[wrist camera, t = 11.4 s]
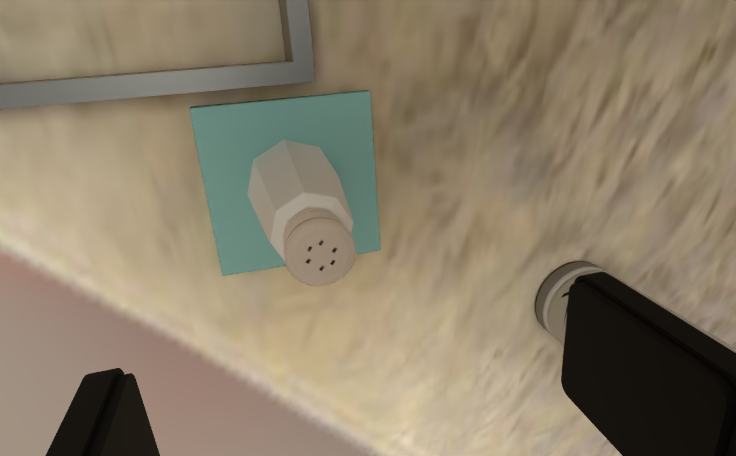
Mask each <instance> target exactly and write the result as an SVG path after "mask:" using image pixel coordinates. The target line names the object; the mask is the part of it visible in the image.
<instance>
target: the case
mask: <svg viewBox="0 0 736 456" xmlns="http://www.w3.org/2000/svg"><path fill="white" fill-rule="evenodd" d="M279 7H280V15H281V23H282V31H283V39H284V47H285V55H286V61H276V62H264V63H251V64H238V65H226V66H213V67H200V68H188V69H175V70H162V71H150V72H137V73H124V74H112V75H99V76H86V77H74V78H61V79H48V80H35V81H23V82H10V83H0V110H1V109H12V108H24V107H35V106H46V105H57V104H69V103H80V102H91V101H102V100H114V99H125V98H136V97H148V96H159V95H170V94H181V93H193V92H204V91H215V90H227V89H238V88H249V87H260V86H272V85H283V84H294V83H306V82H316V77H315V68H314V58H313V48H312V39H311V29H310V19H309V10H308V0H279Z"/></svg>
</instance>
